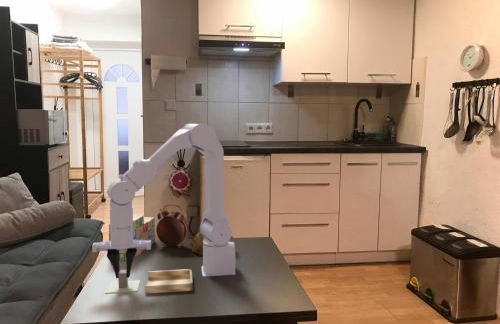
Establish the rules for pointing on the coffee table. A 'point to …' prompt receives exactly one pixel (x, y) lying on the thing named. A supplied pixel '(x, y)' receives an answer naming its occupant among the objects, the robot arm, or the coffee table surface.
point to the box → (169, 281)
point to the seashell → (200, 243)
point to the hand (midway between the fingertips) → (123, 276)
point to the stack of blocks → (140, 233)
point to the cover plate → (129, 289)
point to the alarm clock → (172, 227)
